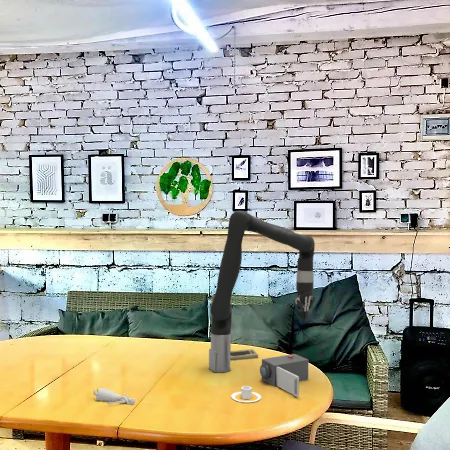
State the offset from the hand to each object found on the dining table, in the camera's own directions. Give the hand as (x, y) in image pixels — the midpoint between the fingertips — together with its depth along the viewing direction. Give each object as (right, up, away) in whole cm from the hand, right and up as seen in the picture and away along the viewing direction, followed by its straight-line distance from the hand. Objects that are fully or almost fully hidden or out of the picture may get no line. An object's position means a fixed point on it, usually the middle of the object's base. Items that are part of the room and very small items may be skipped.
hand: (304, 319), depth 224 cm
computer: (-27, -26, +32) cm, 49 cm away
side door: (-10, -27, -16) cm, 33 cm away
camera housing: (-10, -27, -2) cm, 28 cm away
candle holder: (-27, -28, -22) cm, 45 cm away
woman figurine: (-78, -27, -27) cm, 87 cm away
